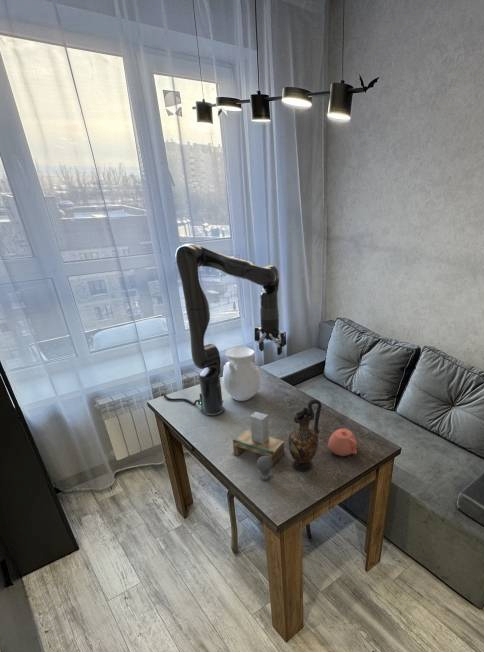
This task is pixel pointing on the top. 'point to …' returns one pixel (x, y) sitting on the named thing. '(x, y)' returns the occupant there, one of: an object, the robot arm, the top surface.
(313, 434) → the vase
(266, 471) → the light bulb
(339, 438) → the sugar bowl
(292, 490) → the top surface
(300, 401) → the top surface
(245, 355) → the pitcher
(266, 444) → the wooden step stool
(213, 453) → the top surface
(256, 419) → the cosmetic box
